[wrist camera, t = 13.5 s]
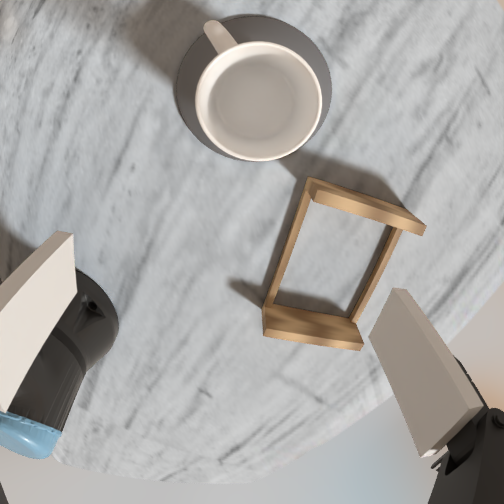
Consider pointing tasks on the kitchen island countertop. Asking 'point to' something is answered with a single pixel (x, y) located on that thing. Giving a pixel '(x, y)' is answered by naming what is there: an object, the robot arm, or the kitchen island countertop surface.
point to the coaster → (241, 32)
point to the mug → (256, 97)
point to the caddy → (345, 329)
